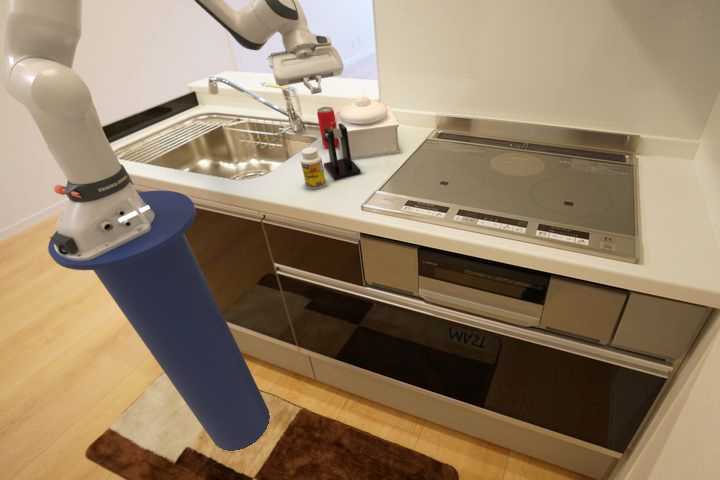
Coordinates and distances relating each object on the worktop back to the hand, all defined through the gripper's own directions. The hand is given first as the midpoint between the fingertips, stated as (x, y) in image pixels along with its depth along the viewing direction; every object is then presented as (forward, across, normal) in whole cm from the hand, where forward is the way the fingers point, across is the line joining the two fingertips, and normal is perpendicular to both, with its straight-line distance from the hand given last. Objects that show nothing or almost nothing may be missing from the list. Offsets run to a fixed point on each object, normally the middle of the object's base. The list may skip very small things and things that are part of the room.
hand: (316, 92), depth 119 cm
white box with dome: (+14, +13, +12) cm, 23 cm away
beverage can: (+10, +3, +16) cm, 19 cm away
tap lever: (+15, 0, +1) cm, 15 cm away
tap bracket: (+23, 0, +3) cm, 23 cm away
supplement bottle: (+26, -9, 0) cm, 28 cm away
